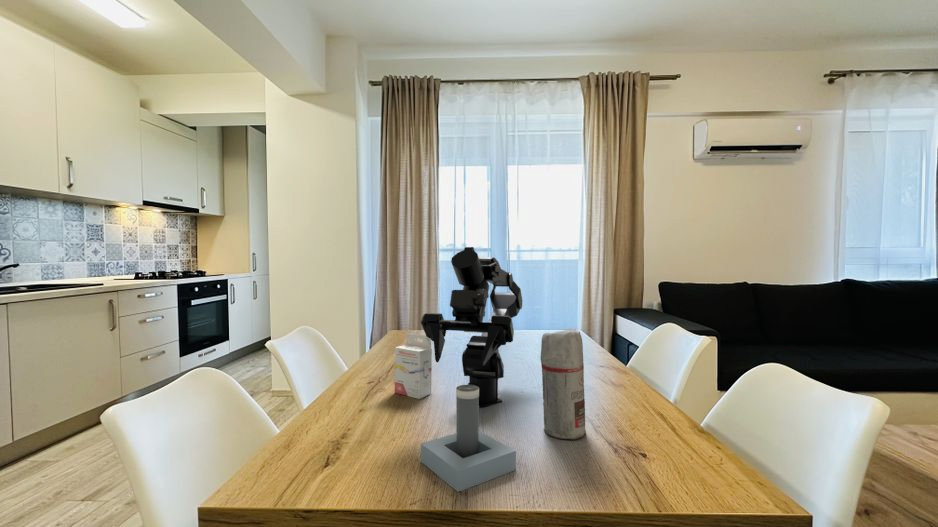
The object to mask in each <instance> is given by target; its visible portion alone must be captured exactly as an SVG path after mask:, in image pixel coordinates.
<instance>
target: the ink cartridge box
mask: <svg viewBox="0 0 938 527" xmlns="http://www.w3.org/2000/svg"><path fill="white" fill-rule="evenodd" d="M417 339H419V340H422V341H419V340H418V341H417ZM406 341H407V344H403V345H399V346H396V347H394V393H395V394H398V395H402V396H405V397H406V396H407V397H410V398H414V399H418V400H420V399H423V398H424V397H428V396H429V395H432V372H433V371H432V370H433V369H432V368H433V366H432V361H433V360H432V357H433V355H432V352H433V351H432V350H433V349H432V340H431V338H428V337H427V336H426V334H425V335H423V334H417V333H410V332H408V333H406Z"/></svg>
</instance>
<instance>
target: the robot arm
mask: <svg viewBox="0 0 938 527" xmlns="http://www.w3.org/2000/svg"><path fill="white" fill-rule="evenodd" d="M450 261H451V262H450V263H451V265H452V268H453V270H454V271H453V272H454V273H455V276H456V278H457V281H458V284H459V285H461V286H463V287H462V289H453V290H452V289H451V294H450V301H449V307H451V308H452V312H451V315H452V317H453V318H455V319H444V316H443V313H435V312H433V313H432V312H431V313H430V312H426V313H424V314H423V315H422V317H421V320H420V324H421V327H422V329H423V332H424V334H425V336H427V337H428V338H431V342H433V349H434V360H435V362H436V363H439V362H440V360H441V357H442V353H443V350H444V346H445V343H446V339H445V337H446V334H447V331H456V332H457V331H458V332H465V333H477V334H478V333H481V335H472V336H471V337H470V339H469V340H468V343H467V344H466V348H465V349H464V350H463V352H462V356H461V362H462V364H461V365H462V370H463V376H464V377H469V378H468V379H469V382H468V383H467V385H475V386H477V387H479V408H484V407H488V406H492V405H496V404H499V403H501V404H502V403H503V399H501V398H499V387H498V385H499V379H504V378H505V375H504V374H505V373H504V371H505V369H504V367H505V366H504V363H503V360H502V356H501V353H500V351H499V348H500V347H502V346H506V345H507V343H512V342H513V341H514V336H515V335H514V333H515V330H514V324H513V318H515V317H517V316H518V314H519V313H520V310H522V308H523V295H522V290H521V288H520V286H518V284H517V283H516V282H515V281H514V279H513V278H514V277H513V273H512V272H511V273H510V272H508V271H506V270H505V269H502V267H501V266H500V263H499V261H498V260H497V258H496V257H494V256H493V257H488V256H487V257H486V256H485V257H483V256H482V257H480V256H479V255H478V253H477V252H476V251H475V248H474V246H466V247H464V249H463V250H461V251H459V252H456V253H455V254H454V255H453V256H452V257H451V260H450ZM490 284H492V285H493V286H492V289H491V292H490V294H489V290H490ZM497 287H499V288H500V287H501V288H502V287H503V288H504V287H505V288H507V287H508V289H509V290H510V292H496V288H497ZM488 299H490V303H491V308H492V312H491V315H490V317H489V319H488V321H487V322H484V317H485V315H486V306H487V300H488Z"/></svg>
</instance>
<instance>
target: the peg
mask: <svg viewBox="0 0 938 527" xmlns="http://www.w3.org/2000/svg"><path fill="white" fill-rule="evenodd" d="M455 395H456V402H455V403H456V409H455V410H456V411H455V412H456V414H455V417H456V421H455V423H456V425H455V426H456V427H455V428H456V430H455V433H456V454H457V455H459V456H460V457H462V458H466V457H469V456H472V455H475V454H478V453H479V431H480V429H479V427H480V426H479V425H480V424H479V422H480V421H479V418H480V417H479V415H480V414H479V409H480V407H479V387H477V386H475V385H468V384H462V385H461V384H460V385H457V386H456V387H455Z"/></svg>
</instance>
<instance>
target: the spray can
mask: <svg viewBox="0 0 938 527" xmlns="http://www.w3.org/2000/svg"><path fill="white" fill-rule="evenodd" d="M583 344H584V343H583V337H582V335H581V331H578V330H577V329H575V328H567V329H565V330H560V331H559V330H558V331H554V332H547V333H543V334H542V336H541V350H540V363H541V376H542V377H541V379H542V381H541V383H542V399H543V400H542V402H543V403H542V404H543V425H544V427H543V428H544V429H543V430H544V433H545V434H547V435H548V436H551V437H553V438H557V439H563V440H577V439H580V438H582V437H584V435H585V434H586V433H587V431H586V404H585V403H586V401H585V400H586V399H585V395H586V394H585V379H584V377H585V370H584V369H585V368H584V367H585V366H584V364H585V363H584V351H583V349H584V345H583Z"/></svg>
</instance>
